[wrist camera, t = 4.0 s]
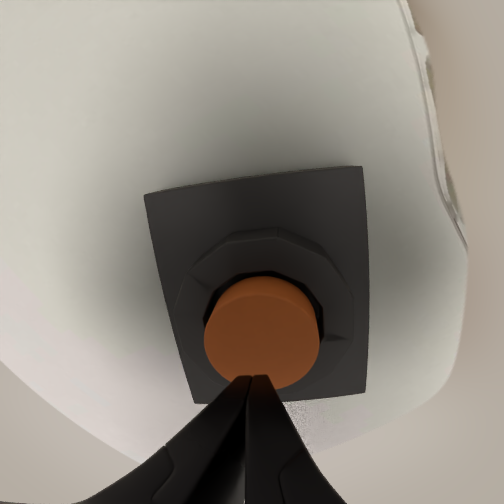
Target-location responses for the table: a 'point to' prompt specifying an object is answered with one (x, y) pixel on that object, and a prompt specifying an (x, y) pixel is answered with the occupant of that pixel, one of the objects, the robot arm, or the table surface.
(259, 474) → the robot arm
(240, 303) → the power button
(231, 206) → the orange push button base
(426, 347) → the table surface
